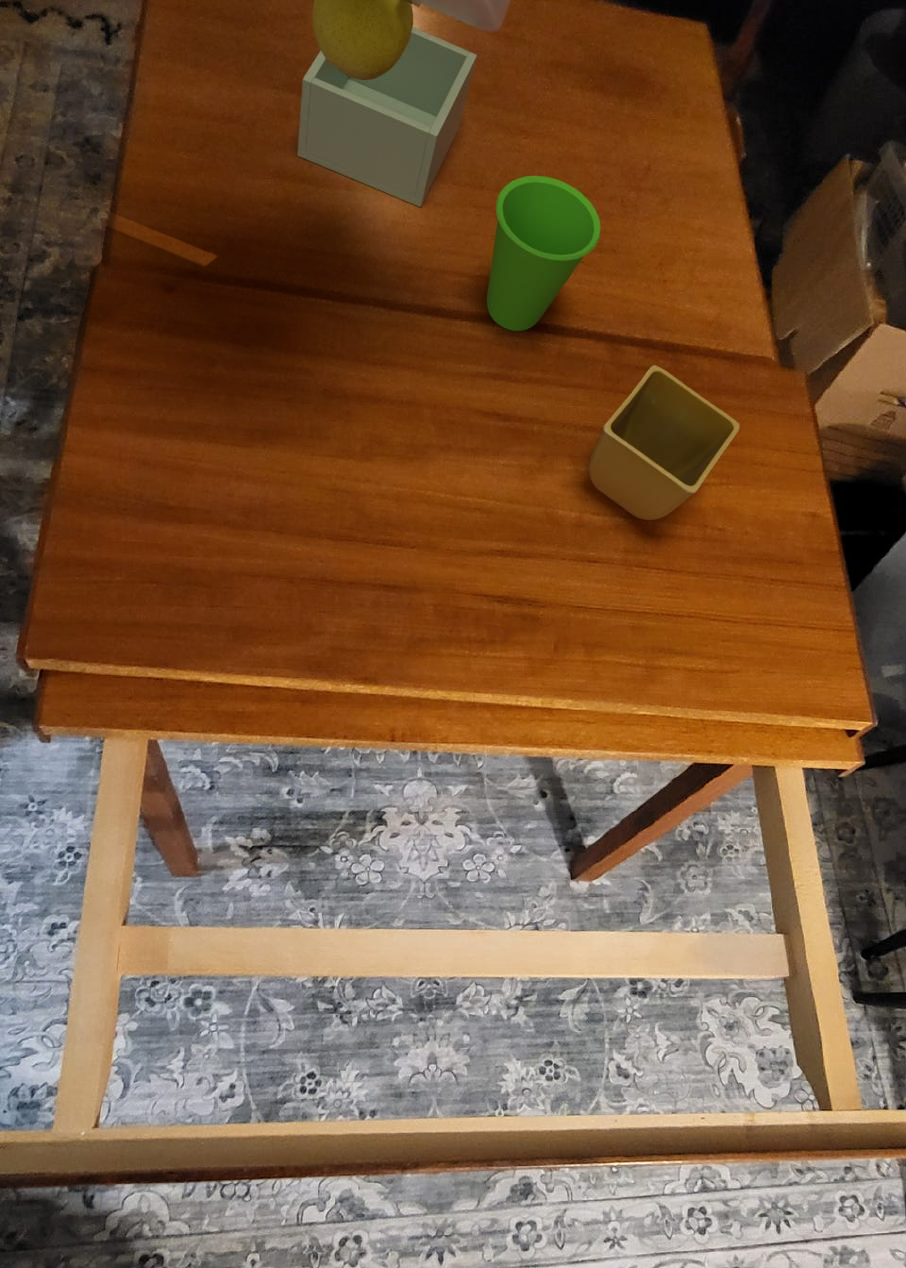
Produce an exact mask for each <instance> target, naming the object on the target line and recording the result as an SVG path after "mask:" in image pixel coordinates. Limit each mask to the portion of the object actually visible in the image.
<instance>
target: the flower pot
mask: <svg viewBox="0 0 906 1268" xmlns="http://www.w3.org/2000/svg"><path fill="white" fill-rule="evenodd" d="M740 428H741V425H740V423H739V422H737V420H735V419H734V418H733V417H732V416H730V415H728V414H727V413H726V412H725V411H723V410H721V409H720V408H719V407H717V406H716V405H714V404H713V403H712V402H710V401H709V400H707V399H705V398H704V397H703V396H702V395H700V394H699V393H697V392H696V391H694V389H692V388H691V387H688V386H687V385H686V384H684V383H683V381H681V380H680V379H678V378H676V377H675V376H674V375H673V374H671V373H670V372H668V371H667V370H665V369H663V368H662V367H660V366H658V365H655V364H653V365H652V366H650V367H649V369H648V370H647V371H646V373H645V374H644V375H643V377H642V378H641V379H640V381H639V382H638V383H637V385H636V386H635V388H633V390H632V391H631V393H630V394H629V395H628V396H627V398H626V399H625V400H624V401H623V402H622V404H621V405H620V406H619V407H618V408H617V409H616V410H615V412H614V413H613V414H612V415H611V417H610V418H609V419H608V420H607V421H606V422H605V423H604V425H603V427H602V429H601V432H600V433H599V436H598V438H597V441H596V443H595V445H594V448H593V450H592V453H591V455H590V458H589V462H588V474H589V478H590V481H591V483H592V484H593V486H594V488H595V489H597V490H598V491H599V492H600V493H602V494H603V495H604V496H605V497H607V498H609V499H610V500H612V501H613V502H614V503H616V504H617V505H618V506H620V507H621V508H622V509H624V510H625V511H627V513H629V514H630V515H632V516H633V517H634V518H636V519H639V520H644V521H655V520H659V519H662V518H664V517H666V516H667V515H669V514H670V513H672V512H673V511H674V510H676V509H677V508H678V507H679V506H680V505H682V504H684V502H686V501H687V500H688V499H689V498H690V497H692V496H693V495H694V494H695V493H697V491H699V489H700V487H701V486H702V484H703V483H704V481H705V480H706V478H707V476H708V475H709V473H710V472H711V471H712V470H713V468H714V467H715V465H716V463H717V462H718V461H719V459H720V458H721V456H722V455H723V453H724V452H725V451H726V449H727V448H728V446H729V445H730V444H731V442H732V441H733V440H734V438H735V437H736V435H737V434H738V432H739V430H740Z"/></svg>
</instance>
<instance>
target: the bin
mask: <svg viewBox="0 0 906 1268" xmlns="http://www.w3.org/2000/svg"><path fill="white" fill-rule="evenodd" d="M477 57H478V55H477V54H476V53H474V52H471V51H469V50H466V49H465V48H462V47H460V46H458V45H455V44H454V43H451V42H449V41H446V40H444V39H442V38H439V37H437V36H435V35H432V34H430V33H427V32H426V31H423V30H421V29H418V28H416V27H414V26H413V28H412V32H411V36H410V39H409V42H408V44H407V47H406V49H405V50H404V52H403V54H402V55H401V57H400V59H399V60H398V61H397V62H396V64H395V65H394V66H393V67H392V68H391V69H390V70H389V71H388V72H386V73H385V74H383V75H381V76H379V77H377V78H375V79H372V80H360V79H355V78H352V77H349V76H347V75H345V74H344V73H343V72H342V71H340V70H339V69H337V68H336V67H334V66H333V65H332V64H331V63H329V62H328V61H327V60H326V58H325V57H324V55H323V53H322V52H321V50H320V51H319V53H318V54H317V55H316V57H315V59H314V60H313V62H312V63H311V65H310V66H309V68H308V70H307V72H305V75H304V76H303V78H302V82H301V83H302V85H301V99H300V114H299V126H298V140H297V141H298V142H297V152H296V153H297V157H300V158H302V159H304V160H306V161H309V162H311V163H313V164H316V165H319V166H321V167H323V168H325V169H328V170H330V171H333V172H335V173H337V174H339V175H340V174H341V175H342V176H345V177H347V178H350V179H352V180H354V181H357V182H359V183H361V184H363V185H367V186H369V187H371V188H373V189H375V190H379V191H380V192H383V193H386V194H388V195H390V196H391V197H392V196H393V197H394V198H397V199H400V200H402V201H404V202H407V203H409V204H411V205H414V206H415V207H418V208H422V207H423V204H424V202H425V200H426V198H427V196H428V193H429V192H430V189H431V187H432V185H433V183H434V181H435V179H436V177H437V175H438V173H439V170H440V168H441V166H442V164H443V162H444V160H445V158H446V156H447V153H448V152H449V150H450V147H451V145H452V143H453V142H454V139H455V138H456V135H457V133H458V131H459V129H460V124H461V121H462V118H463V113H464V109H465V105H466V101H467V97H468V93H469V89H470V85H471V81H472V78H473V73H474V69H475V66H476V61H477Z"/></svg>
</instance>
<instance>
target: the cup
mask: <svg viewBox="0 0 906 1268" xmlns="http://www.w3.org/2000/svg"><path fill="white" fill-rule="evenodd" d="M495 212H496V213H495V214H496V217H497V222H496V228H495V235H494V236H495V237H494V243H493V251H492V258H491V264H490V265H491V267H490V273H489V279H488V287H487V294H486V307H487V312H488V314H489V316H490V317H491V319H492V320H493V321H494V322H495V323H496V324H497V325H499V326H500V327H501V328H504V329H506V330H509V331H513V332H521V331H526V330H529V329H531V328H532V327H533V326H535V325H536V324H537V323H539V322H540V319H541V318H542V317H543V315H544V314H545V312H546V311H547V309H548V308H549V307H550V305H552V303H553V301H554V300H555V298H556V297H557V295H558V294H559V293H560V291H561V290H562V288H563V287H564V285H566V282H567V281H568V280H569V279H570V277H571V275H572V274H573V273H574V272H575V270H576V269H577V267H578V266H579V264H580V263H581V261H582V260H583V259H584V257H585V256H587V255H588V254H589V253H591V252H592V251H593V250H595V248H596V247H597V245H598V243H599V241H600V237H601V232H602V231H601V230H602V229H601V221H600V217H599V215H598V213H597V210H596V209H595V207H594V205H593V204H592V203H591V201H590V200H589V199H588V198H587V197H586V196H585V195H584V194H583V193H582V192H581V191H580V190H578V189H577V188H575V187H574V186H572V185H570V184H569V183H566V182H564V181H562V180H560V179H557V178H553V177H548V176H543V175H529V176H522V177H519V178H516V179H514V180H512V181H511V182H509V183H508V184H506V185H505V186H504V187H503V188H502V189H501V190H500V192H499V193H498V195H497V199H496V202H495Z"/></svg>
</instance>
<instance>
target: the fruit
mask: <svg viewBox="0 0 906 1268" xmlns="http://www.w3.org/2000/svg"><path fill="white" fill-rule="evenodd" d="M311 17H312V19H311V20H312V21H311V22H312V28H313V33H314V36H315V39H316V42H317V44H318V46H319V50H320V51H321V52H322V53H323V55H324V57H325V58H326V60H327V61H328V62H329V63H331V64H332V65H333V66H334V67H336V68H337V69H339V70H340V71H342V72H343V73H344V74H345V75H347V76H349V77H352V78H355V79H360V80H372V79H375V78H377V77H379V76H381V75H383V74H385V73H386V72H388V71H389V70H390V69H391V68H392V67H393V66H394V65H395V64H396V62H397V61H398V60H399V59H400V57H401V55H402V54H403V52H404V50H405V49H406V47H407V44H408V42H409V39H410V36H411V32H412V28H413V27H414V11H413V4H411V3H409V2H406V1H404V0H313V5H312V13H311Z"/></svg>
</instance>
